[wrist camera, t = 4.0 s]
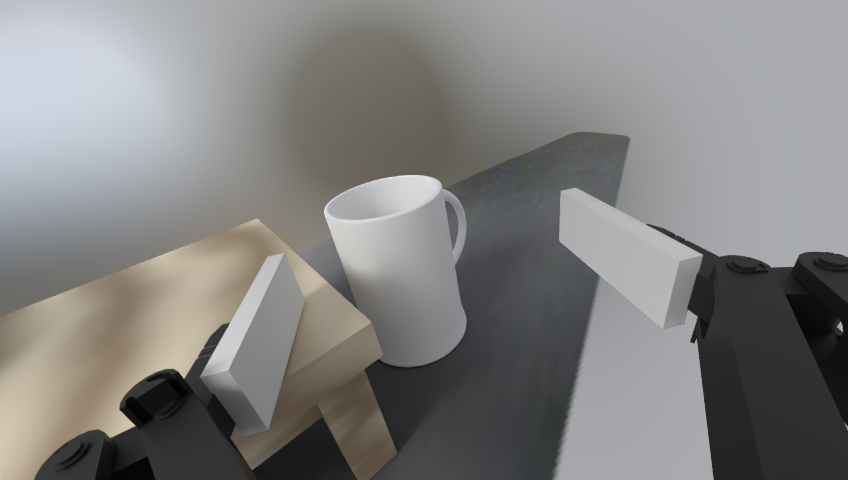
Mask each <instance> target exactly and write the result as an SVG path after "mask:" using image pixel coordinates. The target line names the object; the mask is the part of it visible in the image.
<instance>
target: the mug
mask: <svg viewBox="0 0 848 480" xmlns="http://www.w3.org/2000/svg"><path fill="white" fill-rule="evenodd" d="M444 200H446V201H448V202H450V203H451V204H452V205H453V207H454V209H455V211H456V213H457V217H458V236H457V240H456V244H455V247H454V249H453V251H452V245H451V239H450V233H449V226H448V220H447V214H446V208H445V201H444ZM324 214H325V218H326V220H327V223H328V226H329V229H330V232H331V234H332V237H333V240H334V243H335V246H336V248H337V251H338V254H339V257H340V260H341V262H342V265H343V268H344V271H345V274H346V276H347V279H348V282H349V285H350V288H351V290H352V293H353V296H354V299H355V302H356V304H357V307H358V310H359V311H360V312H361V313H362V314H363V315H364V316H366V317H367V318H368V319H369V320H370V321H371V322H372V324H373V327H374V330H375V333H376V336H377V339H378V342H379V344H380V347H381V350H382V353H383V356H382V357H380V358H379V360H381V361H382V362H384V363H386V364H389V365H392V366H397V367H417V366H422V365H426V364H429V363H432V362H434V361H436V360H439V359H440V358H442V357H444V356H445V355H447V354H448V353H450V352H451V351H452V350H453V349H454V348H455V347H456V346H457V345H458V344H459V342H460V341H461V339H462V337H463V335H464V333H465V330H466V324H467V320H466V314H465V311H464V309H463V307H462V305H461V300H460V295H459V289H458V282H457V276H456V270H455V265H456V263H457V261H458V259H459V257H460V255H461V253H462V250H463V247H464V243H465V238H466V217H465V213H464V210H463V207H462V205H461V203H460V202H459V200H458V199H457V198H456V197H455V196H454V195H453V194H452V193H450V192H449V191H447V190H444V189H442V185H441V183H440V182H439V181H438V180H437V179H435V178H432V177H428V176H421V175H405V176H395V177H389V178H384V179H379V180H375V181H371V182H368V183H365V184H362V185H359V186H356V187H354V188H351V189H349V190H347V191H345V192H343V193H341V194H340V195H338V196H336V197H335V198H333V199H332V200H331V201H330V202H329V203H328V204H327V205H326V207H325V209H324Z"/></svg>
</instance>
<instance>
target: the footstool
mask: <svg viewBox="0 0 848 480" xmlns="http://www.w3.org/2000/svg"><path fill="white" fill-rule="evenodd" d="M281 253H285V255H286V257H287V260H288V262H289V264H290V267H291V269H292V271H293V273H294V276H295V278H296V280H297V283H298V285H299V287H300V289H301V292H302V294H303V296H304V298H305V302H304V306H303V309H302V313H301V317H300V320H299V324H298V327H297V331H296V334H295V338H294V341H293V345H292V348H291V352H290V355H289V359H288V362H287V366H286V369H285V373H284V376H283V380H282V384H281V387H280V391H279V394H278V398H277V401H276V405H275V408H274V412H273V415H272V419H271V422H270V426H269V429H268V430H266V431H262V432H258V433H254V434H250V435H246V436H243V435H242V433H241V432H240V431H239V429H238V428H237V426H236V425H235V427H234V430H233V432H232V435H231V439H232V441H233V442H234V443H235V445H236V446H237V448H238V449H239V451H240V453H241V454H242V456H243V457H244V459H245V460H246V462H247V463H248V465H249V467H250V468H251V470H253V469H254V468H256V467H257V466H258V465H260V464H261V463H262V462H264V461H265V460H266V459H267V458H269V457H270V456H271V455H273V454H274V453H275V452H277V451H278V450H279V449H281V448H282V447H283V446H285V445H286V444H287V443H289V442H290V441H291V440H293V439H294V438H295V437H297V436H298V435H299V434H300V433H302V432H303V431H304V430H306V429H307V428H308V427H310V426H311V425H312V424H314V423H315V422H316V421H318V420H319V419H320V418H322V417H323V419H324V421H325V423H326V424H327V426H328V428H329V430H330V432H331V434H332V436H333V437H334V439H335V441H336V443H337V445H338V447H339V449H340V450H341V452H342V454H343V456H344V458H345V459H346V461H347V463H348V465H349V466H350V468H351V470H352V471H353V473H354V475H355V477H356V478H357V480H370V479H371V478H372V477H373V476H374V475H375V474H376V473H377V472H378V471H380V470H381V469H382V468H383V467H384V466H385V465H386V464H387V463H388V462H389V461H390V460H391V459H392V458H393V457H394V456H396V455H397V451H396V449H395V446H394V443H393V441H392V438H391V436H390V433H389V431H388V428H387V426H386V423H385V420H384V418H383V415H382V413H381V410H380V408H379V405H378V403H377V400H376V397H375V395H374V392H373V390H372V387H371V385H370V382H369V380H368V377H367V375H366V372H365V368H367V367H368V366H369V365H371V364H372V363H373V362H375V361H376V360H378V359H379V358H380V357H382V356H383V353H382V350H381V347H380V344H379V342H378V339H377V336H376V333H375V330H374V327H373V324H372V322H371V321H370V320H369V319H368V318H367V317H366V316H364V315H363V314H362V313H361V312H360V311H359V310H358V309H357V308H356V307H354V306H353V305H352V304H351V303H350V302H349V301H348V300H347V299H346V298H345V297H343V296H342V295H341V294H340V293H339V292H338V291H337V290H336V289H335V288H333V287H332V286H331V285H330V284H329V283H328V282H327V281H326V280H325V279H324V278H322V277H321V276H320V275H319V274H318V273H317V272H316V271H315V270H314V269H312V268H311V267H310V266H309V265H308V264H307V263H306V262H305V261H304V260H302V259H301V258H300V257H299V256H298V255H297V254H296V253H295V252H294V251H292V250H291V249H290V248H289V247H288V246H287V245H286V244H285V243H284V242H283V241H281V240H280V239H279V238H278V237H277V236H276V235H275V234H274V233H273V232H271V231H270V230H269V229H268V228H267V227H266V226H265V225H264V224H263V223H262V222H260V221H259V220H258V219H255V220H252V221H249V222H247V223H244V224H242V225H239V226H237V227H234V228H231V229H229V230H226V231H223V232H221V233H218V234H215V235H213V236H210V237H208V238H205V239H202V240H200V241H197V242H195V243H192V244H189V245H187V246H184V247H181V248H179V249H176V250H174V251H171V252H169V253H166V254H163V255H161V256H158V257H155V258H153V259H150V260H148V261H145V262H142V263H140V264H137V265H134V266H132V267H129V268H127V269H124V270H121V271H119V272H116V273H114V274H111V275H109V276H106V277H103V278H101V279H98V280H95V281H93V282H90V283H87V284H85V285H82V286H80V287H77V288H75V289H72V290H69V291H67V292H64V293H61V294H59V295H56V296H54V297H51V298H48V299H46V300H43V301H40V302H38V303H35V304H33V305H30V306H28V307H25V308H22V309H20V310H17V311H14V312H12V313H9V314H7V315H4V316H1V317H0V480H34V478H35V476H36V474H37V472H38V471H39V469H40V467H41V466H42V464H43V463H44V462H45V461H46V460H47V459H48V458H49V457H50V456H51V455H52V454H53V452H55V451H56V450H57V449H58V448H60V447H61V446H62V445H63V444H65V443H66V442H68V441H70V440H71V439H73V438H75V437H76V436H78V435H80V434H83V433H85V432H87V431H90V430H97V429H99V430H101V431H103V432H105V433H106V434H107V435H108V436H109V437H110V438H111V437H113V436H116V435H118V434H120V433H122V432H124V431H126V430H128V429H130V428H132V427H134V426H135V425H134V424H133V423H132V422H131V421H130V420H129V419H128V418H127V417H126V416H125V415H124V414H123V413H122V412H121V411H120V410H119V407H120V402H121V400H122V399H123V397H124V396H125V394H126V393H127V392H128V391H129V390H130V389H131V388H132V387H133V386H134V385H136V384H137V383H139V382H140V381H141V380H143V379H144V378H146V377H148V376H149V375H151V374H153V373H155V372H158V371H161V370H164V369H175V370H177V371H178V372H179V373H180V374H181V376H182V377H183V378H185V377H186V375H187V373H188V372H189V370H190V369H191V367H192V365H193V364H194V362H195V360H196V359H198V355H199V354H200V352H201V351H202V349H204V346H205V344H206V342H207V341H208V339H209V337H210V336H211V335H212V334H213V333H214V332H215V331H216V330H217V329H218V328H219V327H220V326H221V325H222V324H226V323H230V322H231V321H232V319H233V317H234V315H235V314H236V312H237V310H238V308H239V306H240V305H241V303H242V301H243V299H244V298H245V296H246V294H247V292H248V290H249V289H250V287H251V285H252V283H253V282H254V280H255V278H256V276H257V274H258V273H259V271H260V269H261V267H262V266H263V264H264V262H265V260H266V258H267V257H268V256H272V255H277V254H281Z"/></svg>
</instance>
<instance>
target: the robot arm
mask: <svg viewBox="0 0 848 480" xmlns="http://www.w3.org/2000/svg"><path fill="white" fill-rule="evenodd" d="M559 241H560V242H561V243H562V244H563V245H565V246H566V247H567V248H568V249H569V250H570V251H572V252H573V253H574V254H575V255H576V256H577V257H579V258H580V259H581V260H582V261H583V262H584V263H586V264H587V265H588V266H589V267H590V268H592V269H593V270H594V271H595V272H596V273H597V274H599V275H600V276H601V277H602V278H603V279H604V280H606V281H607V282H608V283H609V284H610V285H612V286H613V287H614V288H615V289H616V290H617V291H619V292H620V293H621V294H622V295H623V296H624V297H626V298H627V299H628V300H629V301H630V302H632V303H633V304H634V305H635V306H636V307H637V308H639V309H640V310H641V311H642V312H643V313H644V314H645V315H647V316H648V317H649V318H650V319H651V320H653V321H654V322H655V323H656V324H657V325H658V326H660V327H661V328H662V329H665V328H670V327H673V326H677V325H681V324H684V321H685V318H686V314H687V311H688V310H690V311H691V312H692V313H694V314H695V315H697V316H698V319H697V322H696V325H695V328H694V331H693V335H692V338H691V341H690V342H692V343H695V340H696V339H697V342H698V350H699V359H700V368H701V377H702V385H703V393H704V402H705V410H706V418H707V427H708V435H709V444H710V452H711V460H712V468H713V477H714V480H848V430H847V428H846V426H845V424H846V425H847V426H848V257H845V256H843V255H840V254H834V253H829V252H825V253H824V252H806V253H803V254H800V255H799V257H798V259H797V261H796V263H795V266H794V267H779V268H778V267H777V268H771V267H770V266H769V265H767V264H766V263H764V262H762V261H759V260H756V259H753V258H750V257H744V256H735V255H728V256H721V257H719V256H717V255H715V254H713V253H711V252H709V251H707V250H705V249H703V248H701V247H699V246H697V245H695V244H693V243H691V242H689V241H685V239H683V238H681V237H679V236H675V234H674V233H672V232H670V231H668V230H666V229H664V228H660V227H657V226H653V225H649V224H644V223H642V222H640V221H638V220H636V219H634V218H632V217H630V216H629V215H627V214H625V213H623V212H621V211H619V210H617V209H615V208H613V207H611V206H610V205H608V204H606V203H604V202H602V201H600V200H598V199H596V198H594V197H593V196H591V195H589V194H587V193H585V192H583V191H581V190H579V189H577V188H572V189H568V190H563V191H561V199H560V229H559ZM304 302H305V298H304V296H303V294H302V292H301V289H300V287H299V285H298V283H297V280H296V278H295V276H294V273H293V271H292V269H291V267H290V264H289V262H288V260H287V257H286V255H285V253H281V254H277V255H272V256H268V257H267V258H266V260H265V262H264V264H263V266H262V267H261V269H260V271H259V273H258V274H257V276H256V278H255V280H254V282H253V283H252V285H251V287H250V289H249V290H248V292H247V294H246V296H245V298H244V299H243V301H242V303H241V305H240V306H239V308H238V310H237V312H236V314H235V315H234V317H233V319H232V321H231V322H230V323H226V324H222V325H221V326H220V327H219V328H218V329H217V330H216V331H215V332H214V333H213V334H212V335H211V336H210V337H209V339H208V341H207V342H206V344H205V346H204V349H202V351H201V352H200V354H199V355H198V359H196V360H195V362H194V364H193V365H192V367H191V369H190V370H189V372H188V373H187V375H186V377H185V378H183V377H182V376H181V374H180V373H179V372H178V371H177V370H175V369H164V370H161V371H158V372H155V373H153V374H151V375H149V376H148V377H146V378H144V379H143V380H141V381H140V382H139V383H137V384H136V385H134V386H133V387H132V388H131V389H130V390H129V391H128V392H127V393H126V394H125V396H124V397H123V399H122V400H121V402H120V407H119V410H120V411H121V412H122V413H123V414H124V415H125V416H126V417H127V418H128V419H129V420H130V421H131V422H132V423H133V424H134V425H135V426H134V427H132V428H130V429H128V430H126V431H124V432H122V433H120V434H118V435H116V436H113V437H111V438H110V437H109V436H108V435H107V434H106V433H105V432H103V431H101V430H99V429H97V430H90V431H87V432H85V433H83V434H80V435H78V436H76V437H75V438H73V439H71V440H70V441H68V442H66V443H65V444H63V445H62V446H61V447H60V448H58V449H57V450H56V451H55V452H53V454H52V455H51V456H50V457H49V458H48V459H47V460H46V461H45V462H44V463H43V464H42V466H41V467H40V469H39V471H38V472H37V474H36V476H35V478H34V480H258V479H257V477H256V476H255V474H254V473H253V471H252V470H251V468H250V467H249V465H248V463H247V462H246V460H245V459H244V457H243V456H242V454H241V453H240V451H239V449H238V448H237V446H236V445H235V443H234V442H233V441H232V439H231V435H232V432H233V430H234V427H235V425H236V426H237V428H238V429H239V431H240V432H241V433H242V435H243V436H246V435H250V434H254V433H258V432H262V431H266V430H268V429H269V426H270V422H271V419H272V415H273V412H274V408H275V405H276V401H277V398H278V394H279V391H280V387H281V384H282V380H283V376H284V373H285V369H286V366H287V362H288V359H289V355H290V352H291V348H292V345H293V341H294V338H295V334H296V331H297V327H298V324H299V320H300V317H301V313H302V309H303V306H304ZM840 321H841V323H842V325H843V332H841V330H839V329H838V328H837V326H838V324H839V323H840ZM844 422H845V423H844Z"/></svg>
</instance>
